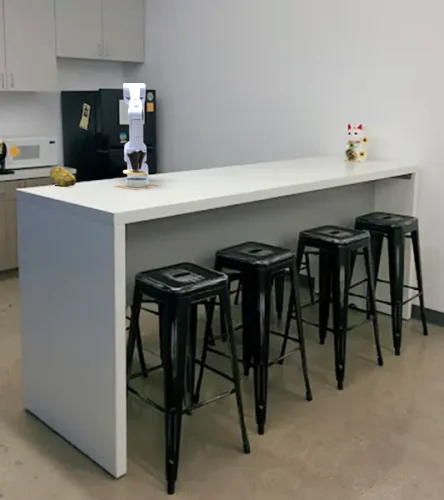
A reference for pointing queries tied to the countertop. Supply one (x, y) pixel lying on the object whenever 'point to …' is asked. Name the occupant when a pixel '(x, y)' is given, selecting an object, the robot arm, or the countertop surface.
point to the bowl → (136, 182)
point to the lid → (135, 172)
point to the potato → (62, 177)
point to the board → (136, 188)
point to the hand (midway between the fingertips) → (136, 169)
